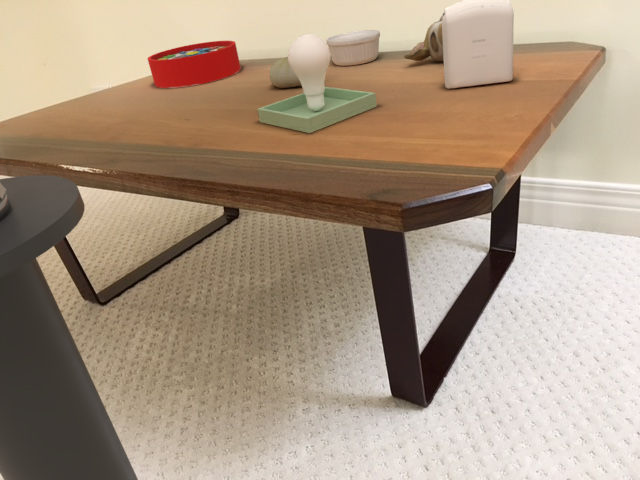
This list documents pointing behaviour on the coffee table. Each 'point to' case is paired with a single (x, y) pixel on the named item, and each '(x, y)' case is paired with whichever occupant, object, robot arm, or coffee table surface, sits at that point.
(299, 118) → the tray
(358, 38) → the ramekin
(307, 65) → the lightbulb
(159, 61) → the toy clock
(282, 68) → the sea urchin shell
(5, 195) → the robot arm
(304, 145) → the coffee table surface
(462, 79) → the photo printer
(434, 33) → the ceramic sculpture
